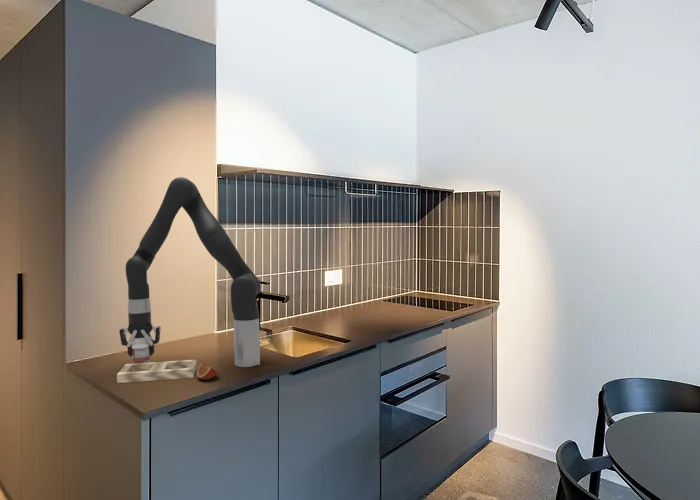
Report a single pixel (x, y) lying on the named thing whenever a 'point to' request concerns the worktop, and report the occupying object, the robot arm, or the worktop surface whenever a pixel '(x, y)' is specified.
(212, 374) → the fruit slice
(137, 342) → the pill bottle
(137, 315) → the robot arm
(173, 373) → the rail
